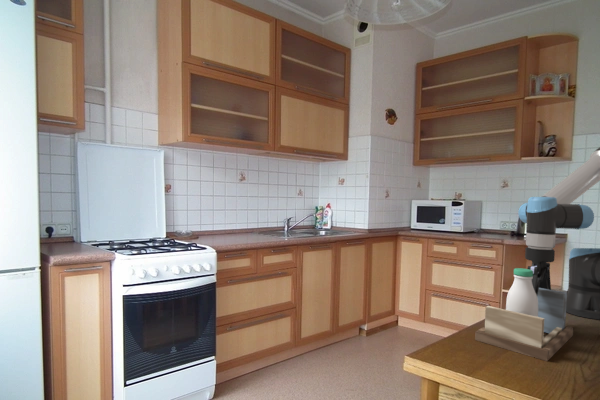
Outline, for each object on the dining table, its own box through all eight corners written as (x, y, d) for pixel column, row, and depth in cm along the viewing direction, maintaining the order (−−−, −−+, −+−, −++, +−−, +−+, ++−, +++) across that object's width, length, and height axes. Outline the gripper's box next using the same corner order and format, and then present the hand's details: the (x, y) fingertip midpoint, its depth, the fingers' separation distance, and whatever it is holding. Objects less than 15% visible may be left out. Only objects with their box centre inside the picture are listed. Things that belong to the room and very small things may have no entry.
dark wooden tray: (508, 320, 123) (509, 312, 123) (572, 335, 111) (573, 327, 111) (475, 339, 105) (475, 331, 105) (547, 361, 93) (547, 351, 93)
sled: (514, 320, 122) (515, 283, 122) (565, 333, 112) (566, 292, 112) (484, 339, 105) (486, 296, 105) (540, 355, 95) (542, 307, 95)
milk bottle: (541, 348, 101) (544, 273, 100) (510, 345, 102) (513, 271, 102) (530, 337, 108) (533, 267, 108) (500, 334, 110) (503, 265, 109)
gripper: (537, 243, 126) (534, 308, 126) (512, 249, 110) (509, 324, 110) (564, 246, 120) (561, 314, 121) (542, 252, 104) (539, 331, 105)
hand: (536, 319), depth 115 cm, fingers open, 11 cm apart
